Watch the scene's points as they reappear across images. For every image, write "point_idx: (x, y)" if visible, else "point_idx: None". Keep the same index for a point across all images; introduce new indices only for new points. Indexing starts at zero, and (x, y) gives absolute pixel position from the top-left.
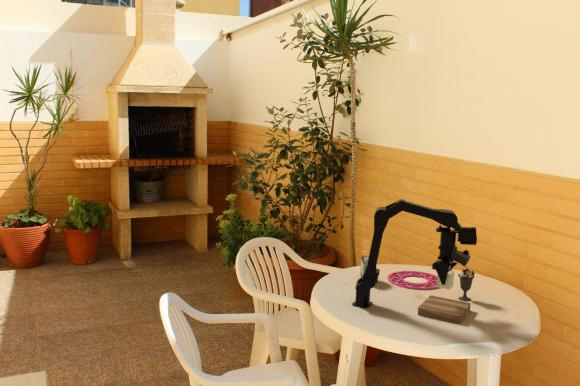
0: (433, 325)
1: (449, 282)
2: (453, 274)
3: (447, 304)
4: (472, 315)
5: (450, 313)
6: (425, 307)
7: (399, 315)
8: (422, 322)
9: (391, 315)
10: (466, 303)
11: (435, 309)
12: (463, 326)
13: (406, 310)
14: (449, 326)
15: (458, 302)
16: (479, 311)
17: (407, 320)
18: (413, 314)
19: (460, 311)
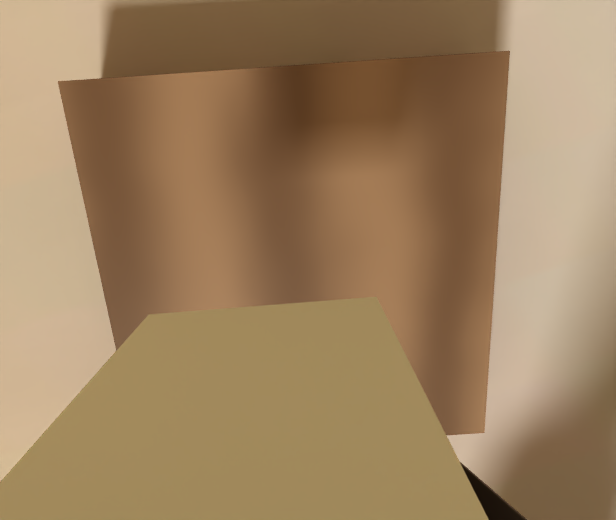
0: (611, 236)
1: (412, 381)
2: (49, 501)
3: (265, 266)
4: (203, 33)
5: (490, 162)
6: (458, 388)
7: (537, 472)
8: (589, 318)
9: (562, 506)
10: (99, 118)
11: (459, 308)
12: (516, 19)
13: None
14: (573, 125)
15: (134, 197)
16: (53, 5)
17: (600, 406)
18: None
19: (377, 95)
